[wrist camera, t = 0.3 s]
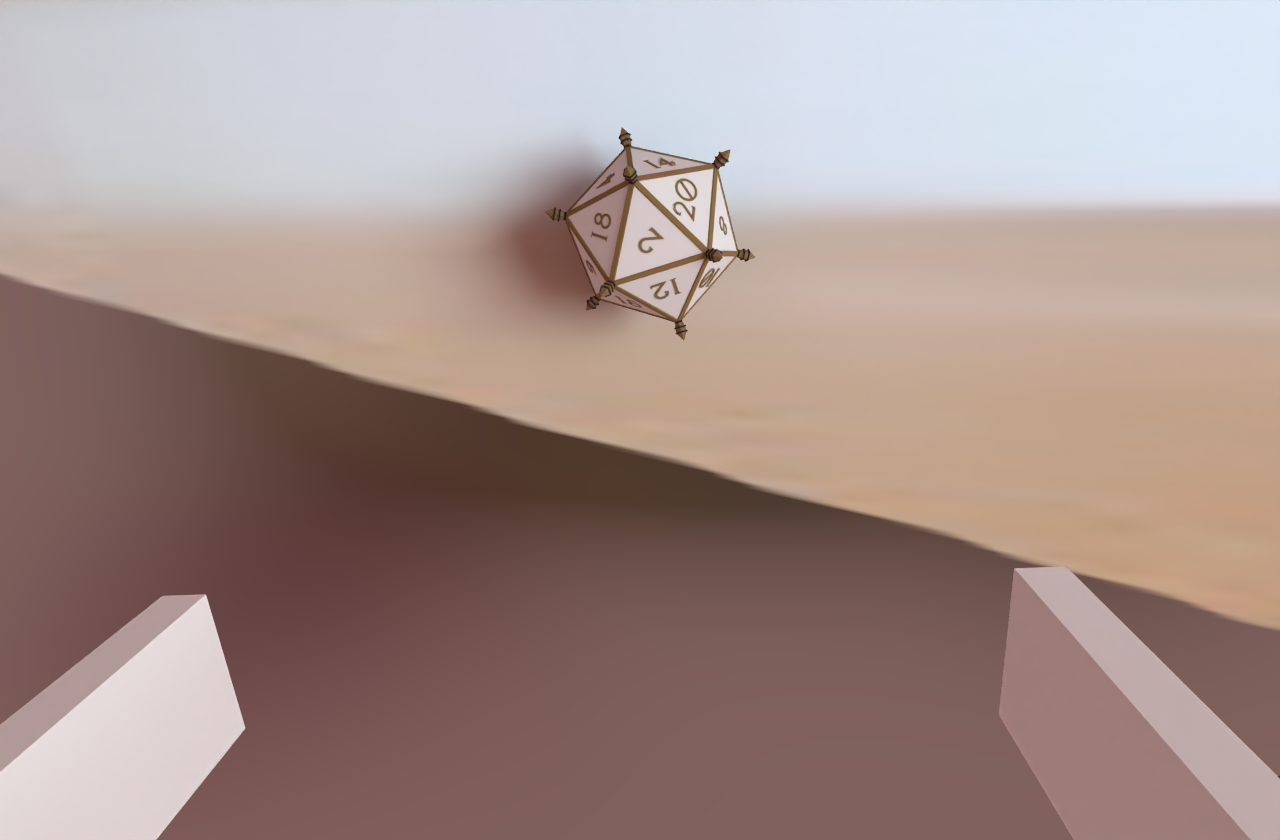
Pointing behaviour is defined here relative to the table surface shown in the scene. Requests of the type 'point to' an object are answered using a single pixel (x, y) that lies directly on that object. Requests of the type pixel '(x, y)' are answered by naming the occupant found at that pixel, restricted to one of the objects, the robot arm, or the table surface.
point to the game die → (653, 232)
